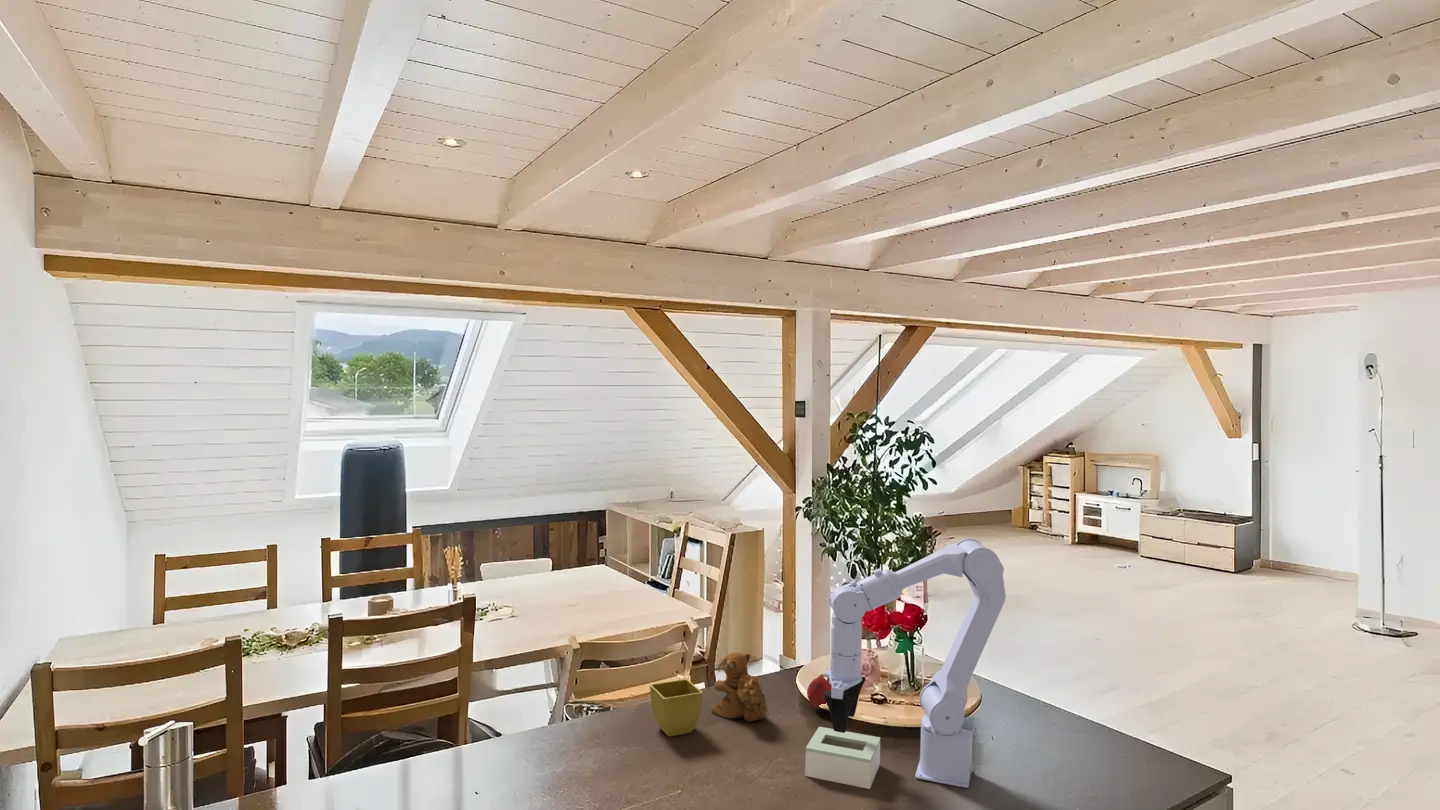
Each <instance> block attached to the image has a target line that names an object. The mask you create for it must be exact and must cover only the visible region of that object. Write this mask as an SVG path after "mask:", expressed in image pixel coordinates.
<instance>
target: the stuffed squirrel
mask: <svg viewBox="0 0 1440 810" xmlns="http://www.w3.org/2000/svg"><path fill="white" fill-rule="evenodd" d="M751 657H752V654H751V653H747V652H746V653H745V654H744V653H742V652H737V651H735V652H730V653H728V654H727V655H725V656H723V659H722V661H721V662H720V663H719V665H718V666H717V669H716V671H718V673H720V672H721V671H720V670H721V666H722V670H723V671H724V674H725V675H726V676H725V680H720V679H718V680H716V681H715V682H714V686H713V687H714V689H715V691H717V692H723V693H726V694H724V697H723V698H722V699H720V700H719V704H715V705H712V706H711V713H713V714H714V715H717V716H719V717H722V718H725V719H739V718H743V720H745V721H747V722H751V723H752V722H755V721H760V720H762V719H763V718H765V716H766V715H767V713H768V712H769V709H768V708H767V699H766V696H765V694H764V693H763V689H761V688H762V686H761V685H760V682H759V679H758V678H757V676H755V675H751V674H749V672H748V662H749V661H750V659H751Z"/></svg>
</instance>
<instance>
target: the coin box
mask: <svg viewBox="0 0 1440 810" xmlns="http://www.w3.org/2000/svg"><path fill="white" fill-rule="evenodd" d="M880 759H881V737H880V736H874V735H869V734H862V733H857V732H851V731H847V730H846V732H845V733H842V732H836V731H834V729H833V728H829V727H825V726H824V727H823V726H818V728H817V729H816V730H815V732H814V734H813V735H812V737H811V739H810V740H809V742H808V744H807V745H806V747H805V759H804V760H805V764H804V765H805V766H804V768H805V770H804V772H805V773H804V776H805V777H808V778H812V779H813V778H814V779H818V780H822V781H829V782H833V783H838V784H844V785H849V786H853V787H857V788H864V789H868V790H870V789H871V787H872V785H873V783H874V780H875V777H876V774H877V773H878V770H879V768H880V766H881V765H880V764H881V760H880Z"/></svg>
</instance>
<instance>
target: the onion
mask: <svg viewBox="0 0 1440 810" xmlns="http://www.w3.org/2000/svg"><path fill="white" fill-rule="evenodd" d="M831 687H832V686H831V682H830V681H828V680H827V679H826V678H825V677H824V673H819V674H818V675H817V677H816V678H813V680H811V682H810V683H809V685H808V687H807V689H806V694H807V699H808V701H809V703H810V705H812V706H813V707H814V708H816V709H817V710H819V705H821V704H826V701H825V700H824V693H825V691H826V690H827V691H831Z"/></svg>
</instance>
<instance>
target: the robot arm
mask: <svg viewBox="0 0 1440 810" xmlns="http://www.w3.org/2000/svg"><path fill="white" fill-rule="evenodd" d="M1004 570H1005V568H1004V566H1003V564H1002V562H1001V560H1000V558H999V557H998V555H997V554H996V552H994V550H992V549H990V548H989V547H988V548H987V547H986V546H984V545H983V544H982V543H981V542H980V541H978V540H977V539H975V538H965V539H961V540H960V541H958V542H957V543H956V542H954V543H949V544H948V545H945V546H944V547H942V548H941V549H939V550H937V551H935V552H933V553H931V554H928V555H927V556H925V557H922V558H921V559H919V560H917V561H915V562H913V563H911V564H909V565H906V566H905V567H903V568H902V569H899V570H896V571H892V570H890V569H887V568H885V569H883V570H881V569H880V568H877V569H875V570H873V571H872V572H873V574H871V575H869V576H867V577H864V578H862V579H860V580H858V581H856V580H855V579H854V580H851V581H850V583H849V584H850V585H846V584H845V585H839V586H838V587H836V588H835V589H834V590H833V592H831V594H830V597H829V604H830V605H829V606H830V607H831V609H832V610H833V611H832V613H831V614H832V616H831V622H832V623H831V626H830V662H829V663H830V665H829V666H830V667H829V670H825V671H824V672H823V675H824V678H828V679H829V683H830V684H831V686H832V687H831V691H827V690H826V691H825V693H824V700H825V701H826V703H827V708H828V710H829V713H830V717H831V718H830V719H831V724H832V729H834V731H836V732H842V733H845V732H846V731H847V728H848V725H849V724H848V723H849V717H852V718H854V717H855V715H856V711H857V706H858V703H859V702H858V701H859V698H860V694H861V690H862V688H863V686H864V685H865V682H866V677H864V676H862V675H863V674H862V646H863V645H862V642H863V641H862V639H863V637H862V636H863V628H862V619H863V617H864V616H865V614H866V612H870V611H872V610H874V609H877V608H879V607H881V606H884V605H886V604H889V603H891V602H893V601H895V600H897V599H899V598H901V595H902V593H903V591H904V589H906V588H909V587H911V586H914V585H918V584H919V583H922V582H924V581H927V580H930V579H933V578H935V577H938V576H940V575H944V574H945V575H948V576H949V575H950V576H954V577H958V578H964V576H965V578H966V579H967V582H968V583H969V586H970V588H971V590H972V592H973V597H972V599H971V602H970V604H969V606H968V609H967V610H966V613H965V615H964V617H963V620H962V622H961V624H960V627H959V629H958V631H957V633H956V636H955V637H954V640H953V643H952V645H951V647H950V648H949V649H950V650H949V651H948V653H947V656H946V658H945V660H944V662H943V665H942V667H941V669H940V670H939V671H937V672H936V673H935V674H933V676H932V679H931V680H930V682H929V683H928V684H926V685H925V686H923V687H922V689H921V691H920V694H919V700H918V701H919V704H920V707H921V708H922V710H923V711H924V715H923V716H922V718H921V721H920V744H919V745H920V750H919V751H920V753H919V762H918V764H917V768H916V771H915V775H914V778H916V779H918V780H924V781H929V782H933V783H939V784H945V785H949V786H956V787H960V788H966V789H967V788H969V787H970V781H971V776H972V773H973V768H974V767H973V766H974V762H973V761H972V756H973V731H971V730H969V729H968V730H967V729H964V728H963V725H964V722H965V709H966V705H967V704H968V685H969V682H970V680H971V678H972V675H973V674H974V671H975V669H976V667H977V664H978V662H979V660H980V658H981V655H982V653H983V651H984V649H985V646H986V644H987V642H988V640H989V637H990V636H991V633H992V631H993V629H994V626H995V624H996V622H997V619H998V617H999V615H1000V613H1001V611H1002V608H1003V606H1004V604H1005V601H1006V598H1007V596H1006V595H1007V594H1006V587H1005V582H1004V581H1005V580H1004Z"/></svg>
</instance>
